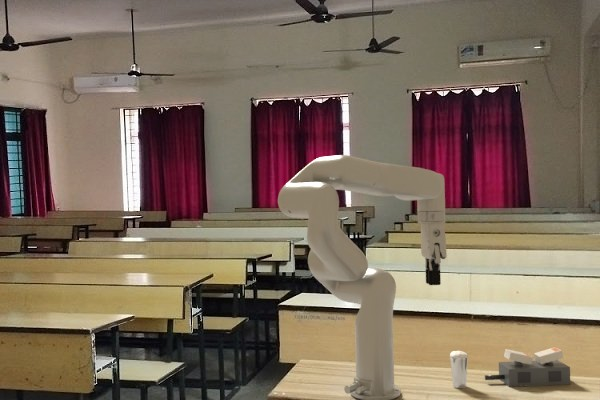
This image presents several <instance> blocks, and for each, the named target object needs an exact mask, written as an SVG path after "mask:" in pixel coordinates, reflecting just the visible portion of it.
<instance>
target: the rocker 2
mask: <svg viewBox="0 0 600 400" xmlns="http://www.w3.org/2000/svg"><path fill="white" fill-rule="evenodd" d="M533 356H534V357H533V358H534V361H537V362H539V363H540V364H544V363H548V362H551V361H554V360H558V361H559V360H561V359H564V354H563V352H562V350H561V349H560V348H557V347H554V346H553V347H551V348H547V349H543V350H541V351H537V352H534V353H533Z"/></svg>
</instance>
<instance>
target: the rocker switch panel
mask: <svg viewBox="0 0 600 400" xmlns="http://www.w3.org/2000/svg"><path fill="white" fill-rule="evenodd" d="M484 380H485V381H493V380H495V381H496V380H500V381H501V382H503V383H504V384H505V385H506V386H507V387H509V388H511V387H512V388H513V387H514V388H515V387H519V388H520V387H540V386H545V387H546V386H567V385H571V367H570V366H569V365H567V364H566V363H563V362H562V361H560V360H559V359H558V360H554V361H551V362H548V363H544V364H540V363H539V362H537V361H536V360H532V364H526V363H521V362H517V361H498V374H487V375H484Z"/></svg>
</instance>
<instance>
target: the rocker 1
mask: <svg viewBox="0 0 600 400" xmlns="http://www.w3.org/2000/svg"><path fill="white" fill-rule="evenodd" d="M503 357H504V358H506V359H507V360H509V361H511V362H513V361H517V362H521V363H526V364H532V361H533V359H534V357H533V355H530V354H529V353H528V352H527V353H525V352H522V351H517V350H512V349H507V348H505V350H504V355H503Z"/></svg>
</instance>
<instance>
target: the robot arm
mask: <svg viewBox="0 0 600 400" xmlns="http://www.w3.org/2000/svg"><path fill="white" fill-rule="evenodd" d="M445 185H446V184H445V177H444V175H443V174H442V173H438V172H436V171H433V170H431V169H427V168H426V169H425V168H423V167H418V166H417V167H415V166H410V165H408V166H407V165H402V164H401V165H400V164H394V163H385V162H379V161H373V160H370V159H366V158H361V157H357V156H352V155H347V154H339V155H337V154H336V155H328V156H320V157H318V158H316V159H313V160H312V161H311V162H309V163H308V164H307V165H305V167H303V168H302V169H301V170H300V171H299V172H298V173H296V174H295V175H294V176H293V177H292V178H291V179H290V180H289V181H288V182H286V183H285V184H284V185H283V186H282V187H281V189H280V190H279V193H278V197H277V205H278V208H279V211H280V212H281V213H282V214H283V215H284V216H287V217H289V218H291V219H308V221H307V229H306V230H307V231H306V233H307V235H306V239H307V240H306V241H307V245H308V247H309V248H310V250H309V253H308V257H307V264H308V269H309V271H310V272H311V274H312V277H314V278H315V279H316V281H318V282H319V283H320V284H322V286H323V287H324V288H325V289H326V290H328V291H329V292H330V293H331V294H332V295H333V296H334V297H335V298H337V299H338V300H339V301H343V302H346V303H353V304H358V305H360V308H359V310H358V312H357V314H356V317H355V319H354V320H355V321H354V338H355V339H354V341H355V342H354V344H355V347H354V348H355V377H353V382H352V383H350V384H347V385H344V387H343V388H344V393H345V394H347V395H348V394H350V395H351V396H352V397H353V398H356V399H358V400H394V399H397V398H398V397H400V396H401V393H402V391H401V390H402V389H401V387H399V386H398V385H396V384H395V364H394V363H395V361H394V358H395V356H394V330H393V329H394V328H393V327H394V325H393V324H394V323H393V322H394V321H393V319H394V318H393V317H394V304H395V299H396V293H397V284H396V281H395V278H394V276H393V275H392V274H391V273H390V272H388V271H387V270H385V269H382V268H376V267H369V262H368V259H367V257H366V255H365V254H364V252H363V251H362V250H361V249H360V248H359V247H358V245H356V244H355V243H354V242H353V240H351V238H350V237H348V235H346V234H345V232H344V231H343V230H342V228H341V227H340V225H339V217H338V216H339V206H340V199H339V194H338V190H339V191H348V192H353V193H359V194H364V195H368V196H369V195H370V196H377V197H378V196H379V197H393V196H394V197H395V199H398V200H401V201H417V205H416V206H417V224H420V251H421V253H420V254H421V256H422V257H423V258H424V259H425V264H424V265H425V283H426V284H427V285H429V286H439V285H441V283H442V282H441V263H442V262H441V261H442V260H445V259H447V256H448V255H447V241H446V231H445V223H446V197H445V195H446V193H445V192H446V189H445ZM441 259H442V260H441Z"/></svg>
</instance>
